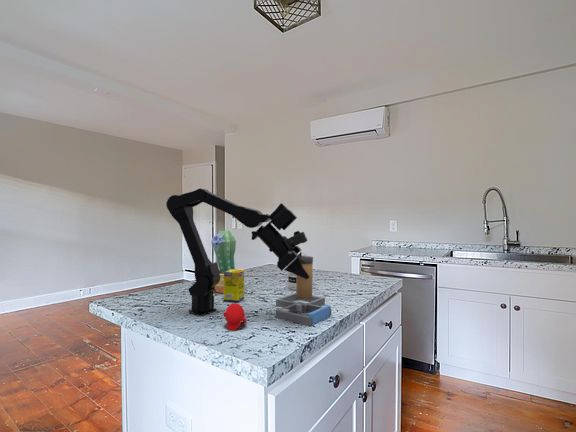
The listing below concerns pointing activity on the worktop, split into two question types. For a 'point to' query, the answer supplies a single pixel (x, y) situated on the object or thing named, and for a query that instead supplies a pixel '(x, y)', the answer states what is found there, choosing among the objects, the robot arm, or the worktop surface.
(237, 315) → the red lumpy figurine
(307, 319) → the divided tray
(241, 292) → the supplement box
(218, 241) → the potted cactus
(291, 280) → the supplement can
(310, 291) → the vitamin jar
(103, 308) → the worktop surface
